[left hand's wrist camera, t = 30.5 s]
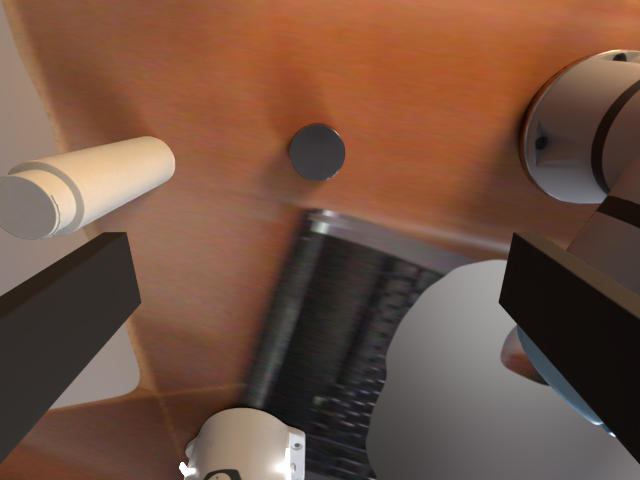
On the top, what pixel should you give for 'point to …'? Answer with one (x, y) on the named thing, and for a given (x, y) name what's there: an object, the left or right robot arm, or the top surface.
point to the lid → (317, 152)
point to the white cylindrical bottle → (80, 186)
